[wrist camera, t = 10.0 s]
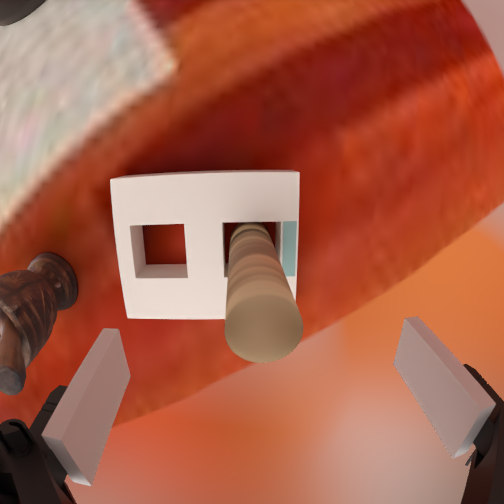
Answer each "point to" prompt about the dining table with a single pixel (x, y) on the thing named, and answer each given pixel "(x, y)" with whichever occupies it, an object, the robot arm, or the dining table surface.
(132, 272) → the board
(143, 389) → the dining table surface
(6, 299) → the mortar and pestle
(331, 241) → the dining table surface
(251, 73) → the dining table surface
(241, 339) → the leg peg
